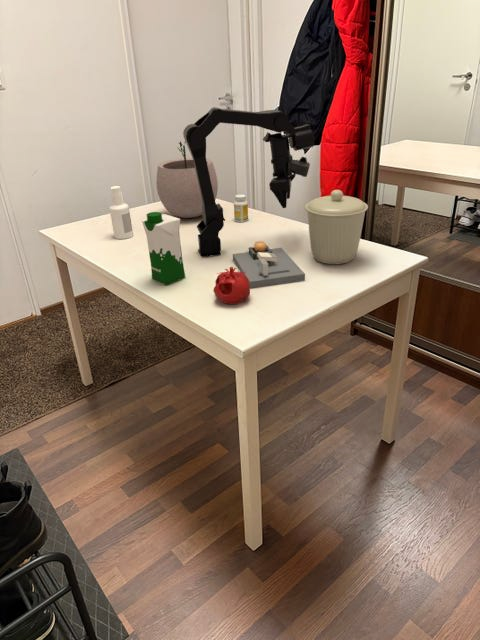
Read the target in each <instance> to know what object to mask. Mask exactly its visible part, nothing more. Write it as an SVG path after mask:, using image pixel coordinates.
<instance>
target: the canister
mask: <svg viewBox="0 0 480 640" xmlns="http://www.w3.org/2000/svg"><path fill="white" fill-rule="evenodd" d="M304 209H305V211H307V220H308V222H307V223H308V231H309V232H308V233H309V243H310V250H311V254H312V256H313V258H315V260H317V261H318V262H320V263H323V264H328V265H340V264H346V263H348V262H351V261H352V260H353V259H354V258H355V257H356V255H357V253H358V250H359V246H360V241H361V235H362V230H363V226H364V219H365V215H366V211H367V210H368V209H369V205H368V204H367V203H366V202H364V201H363V200H361V199H360V198H357V197H354V196H349V195H344V193H343V191H342V190H340V189H334V190H332V191H331V192H330V195H325V196H320V197H317V198H314V199H312V200H311V201H309V202H307V203H306V204H305V206H304Z"/></svg>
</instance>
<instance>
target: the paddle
mask: <svg viewBox="0 0 480 640" xmlns="http://www.w3.org/2000/svg"><path fill="white" fill-rule="evenodd" d="M259 271H260V272H261V274H262V275H263V276H268V263H267V261H266V260H265V259H259Z"/></svg>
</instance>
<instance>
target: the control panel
mask: <svg viewBox="0 0 480 640" xmlns="http://www.w3.org/2000/svg"><path fill="white" fill-rule="evenodd" d="M263 253H274V254H275V255H276V256H277V261H267V263H268V276H263V275H262V274H261V272H260V271H259V258H258V257H257V254H258V252H257V251H255V249H254V246H251V247H248V251H246V252H237V253H233V254H232V261H233V263H234V264H235V266H236V267H237V269H238V272H246V273H243V274H245V276H246V277H247V278H248V280H249V285H250V289H255V288H256V289H257V288H261V287H268V286H275V285H276V286H277V285H283V284H290V283H296V282H302V281H305V280H306V273H305V272H304V271H303V270H302V269H301V268H300V267H299V265H298V264H297V263H296V262H295V261H294V260H293V259H292V257H291V256H289V255H288V253H287V252H286V251H285V250H284V249H283V247H277V248H270V247H269V246H268V245H267V244H266V251H263Z"/></svg>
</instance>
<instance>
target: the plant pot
mask: <svg viewBox="0 0 480 640" xmlns="http://www.w3.org/2000/svg"><path fill="white" fill-rule="evenodd" d="M178 144H179V147H177V149H178V150H179V152H181V155H182V157H181V158H175V159H168V160H164V161H162V162H160V163H158V165H157V170H156V171H157V172H156V191H157V195H158V198H159V200H160V202H161V204H162V206H163V207H164V209H166V210H167V211H168V212H169V213H170V214H171V215H173V216H176V217H177V218H178V217H179V218H185V219H191V218H197V217H199V216H202V205H203V202H202V197H201V193H200V188H199V184H198V179H197V175H196V171H195V166H194V162H193V158H192V157H187V155H186V142H185V141H184V145H183V144H182V141H179V142H178ZM206 161H207V165H208V170H209V175H210V180H211V184H212V189H213V194H214V198H215V201H216V199H217V195H218V190H219V188H218V187H219V185H218V184H219V183H218V176H217V173H216V169H215V165H214V163H213V161H212V159H209V158H206Z"/></svg>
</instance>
